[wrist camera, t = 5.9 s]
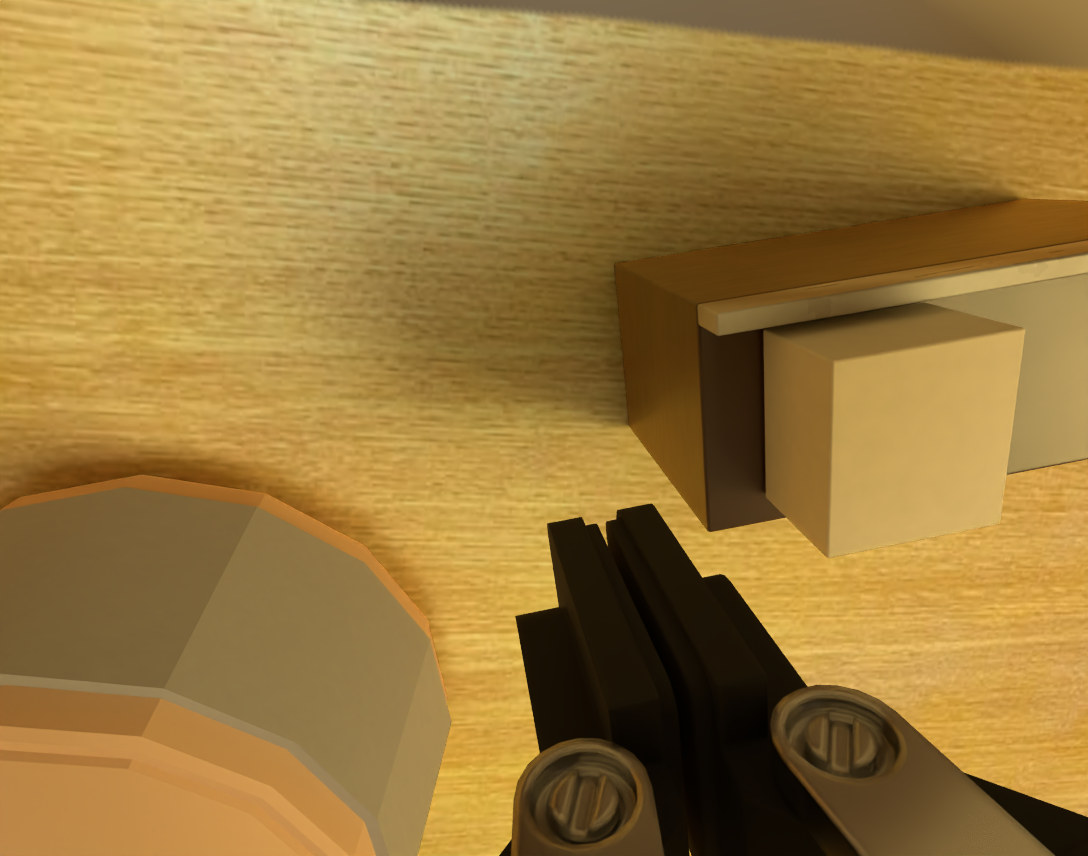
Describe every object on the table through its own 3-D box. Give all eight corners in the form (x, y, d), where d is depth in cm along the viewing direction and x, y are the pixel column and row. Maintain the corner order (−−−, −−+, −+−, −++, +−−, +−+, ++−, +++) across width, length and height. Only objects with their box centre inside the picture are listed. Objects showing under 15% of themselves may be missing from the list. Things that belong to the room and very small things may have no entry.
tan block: (764, 497, 17) (827, 559, 14) (762, 328, 16) (832, 361, 13) (912, 469, 17) (1001, 524, 15) (924, 301, 16) (1026, 327, 13)
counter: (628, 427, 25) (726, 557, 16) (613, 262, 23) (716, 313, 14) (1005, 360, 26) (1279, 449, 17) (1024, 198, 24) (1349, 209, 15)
